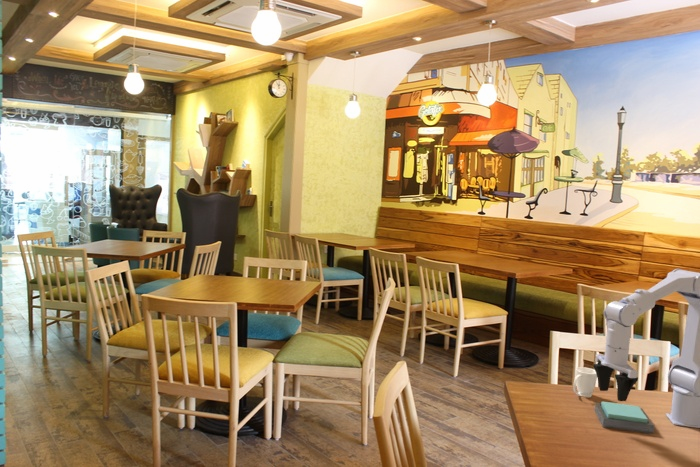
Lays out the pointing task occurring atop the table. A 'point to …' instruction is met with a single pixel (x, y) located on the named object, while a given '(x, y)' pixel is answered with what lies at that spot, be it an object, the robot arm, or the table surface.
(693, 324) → the robot arm
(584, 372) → the cup
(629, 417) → the plate
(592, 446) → the table surface
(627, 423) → the plate housing
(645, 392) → the table surface
